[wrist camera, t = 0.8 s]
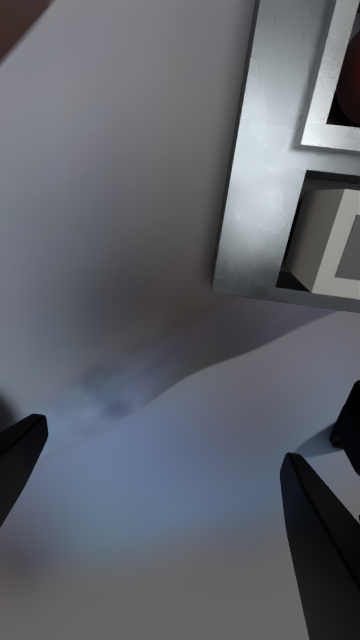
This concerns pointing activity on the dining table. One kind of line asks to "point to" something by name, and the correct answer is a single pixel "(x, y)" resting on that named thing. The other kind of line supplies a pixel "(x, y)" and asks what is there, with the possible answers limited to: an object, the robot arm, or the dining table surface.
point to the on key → (327, 243)
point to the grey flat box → (283, 146)
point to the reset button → (350, 81)
